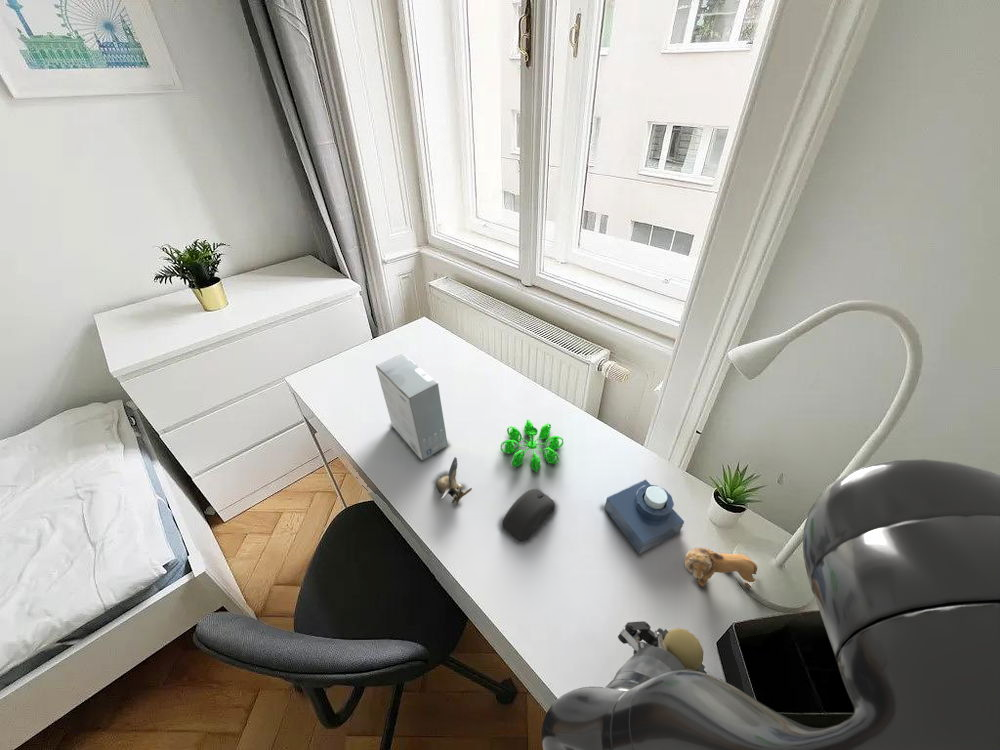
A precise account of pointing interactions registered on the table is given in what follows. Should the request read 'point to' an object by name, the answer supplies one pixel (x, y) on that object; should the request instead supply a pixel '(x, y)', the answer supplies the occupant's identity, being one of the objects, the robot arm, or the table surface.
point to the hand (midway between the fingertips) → (680, 652)
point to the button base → (643, 517)
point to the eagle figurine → (450, 484)
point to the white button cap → (655, 497)
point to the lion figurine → (719, 565)
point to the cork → (684, 648)
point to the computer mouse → (528, 514)
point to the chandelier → (532, 445)
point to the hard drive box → (413, 405)
